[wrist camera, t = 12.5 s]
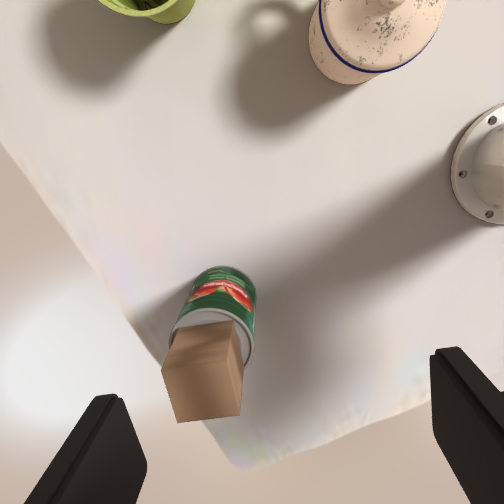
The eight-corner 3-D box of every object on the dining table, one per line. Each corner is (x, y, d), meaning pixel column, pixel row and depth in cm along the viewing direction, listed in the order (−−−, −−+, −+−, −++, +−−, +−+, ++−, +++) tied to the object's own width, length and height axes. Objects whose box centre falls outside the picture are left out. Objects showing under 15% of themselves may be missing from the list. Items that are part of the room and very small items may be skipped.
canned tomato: (247, 259, 41) (242, 301, 30) (263, 317, 43) (263, 374, 33) (183, 273, 42) (157, 319, 31) (202, 329, 44) (183, 389, 34)
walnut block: (233, 319, 31) (226, 361, 25) (243, 366, 33) (239, 415, 27) (179, 328, 31) (160, 370, 26) (192, 373, 33) (177, 422, 27)
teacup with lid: (421, 33, 33) (500, -18, 22) (348, 108, 35) (387, 95, 24) (336, -74, 31) (377, -192, 20) (264, 13, 33) (264, -48, 22)
